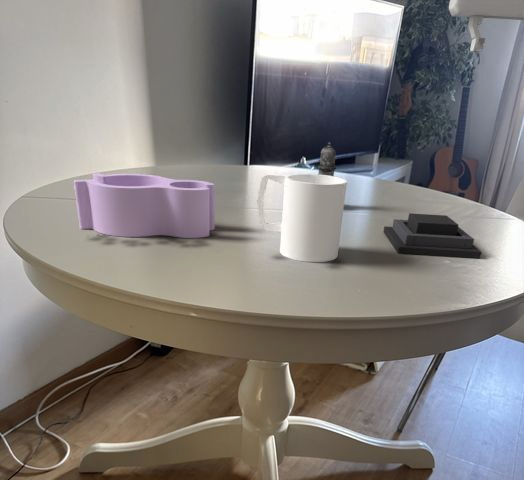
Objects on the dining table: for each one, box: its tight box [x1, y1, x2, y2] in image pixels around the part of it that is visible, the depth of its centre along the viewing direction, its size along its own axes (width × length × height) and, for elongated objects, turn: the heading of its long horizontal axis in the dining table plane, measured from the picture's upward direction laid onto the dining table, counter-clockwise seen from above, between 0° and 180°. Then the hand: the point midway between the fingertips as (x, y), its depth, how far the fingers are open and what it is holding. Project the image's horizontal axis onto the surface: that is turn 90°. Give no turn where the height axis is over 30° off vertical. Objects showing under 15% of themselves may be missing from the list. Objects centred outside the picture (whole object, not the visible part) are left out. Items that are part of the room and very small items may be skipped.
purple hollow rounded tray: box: [73, 172, 216, 239], centre depth 74 cm, size 20×12×7 cm, turn 83°
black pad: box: [407, 212, 459, 236], centre depth 74 cm, size 6×6×3 cm
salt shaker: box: [317, 141, 337, 177], centre depth 93 cm, size 6×6×12 cm
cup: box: [256, 173, 348, 263], centre depth 66 cm, size 8×12×10 cm
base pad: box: [383, 219, 483, 259], centre depth 74 cm, size 12×12×2 cm
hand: (505, 53), depth 77 cm, fingers open, 8 cm apart
